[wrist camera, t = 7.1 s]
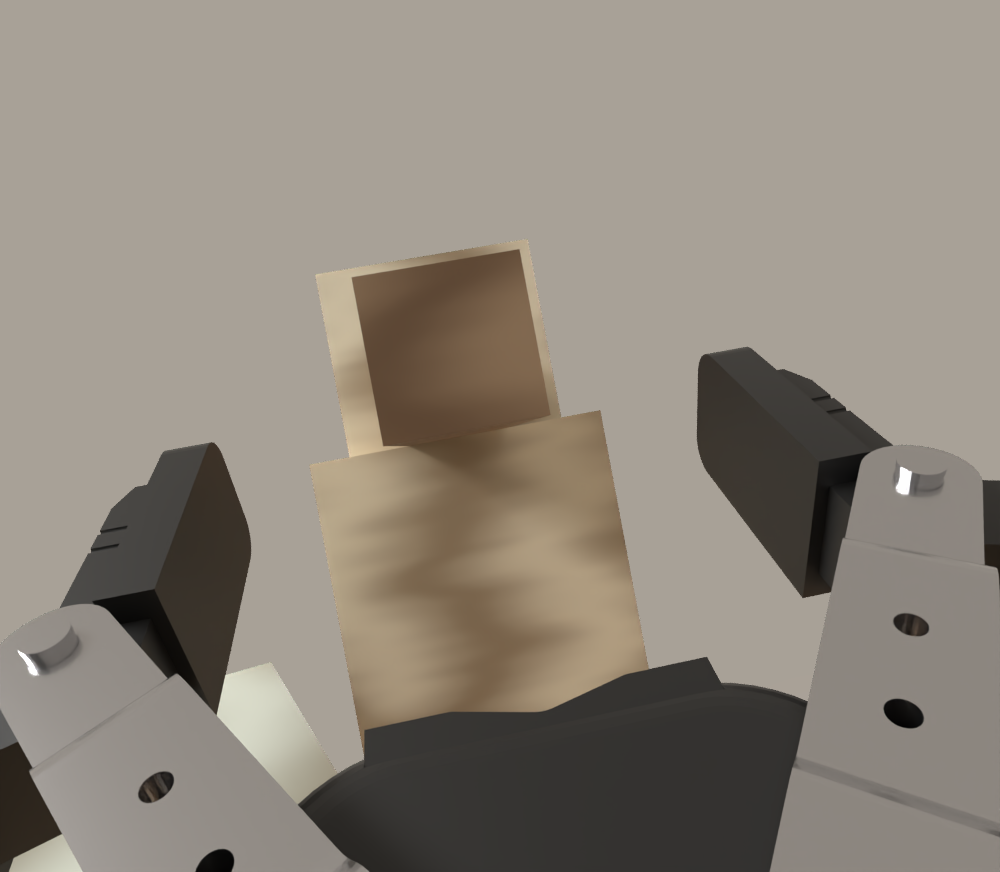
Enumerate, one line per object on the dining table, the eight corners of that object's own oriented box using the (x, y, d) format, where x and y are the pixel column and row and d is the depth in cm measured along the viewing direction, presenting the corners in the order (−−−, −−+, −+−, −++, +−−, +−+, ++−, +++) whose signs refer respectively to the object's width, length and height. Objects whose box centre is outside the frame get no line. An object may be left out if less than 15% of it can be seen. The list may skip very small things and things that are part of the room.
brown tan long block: (268, 467, 13) (203, 125, 13) (371, 454, 31) (344, 313, 31) (658, 394, 13) (597, 66, 13) (535, 424, 31) (508, 285, 31)
